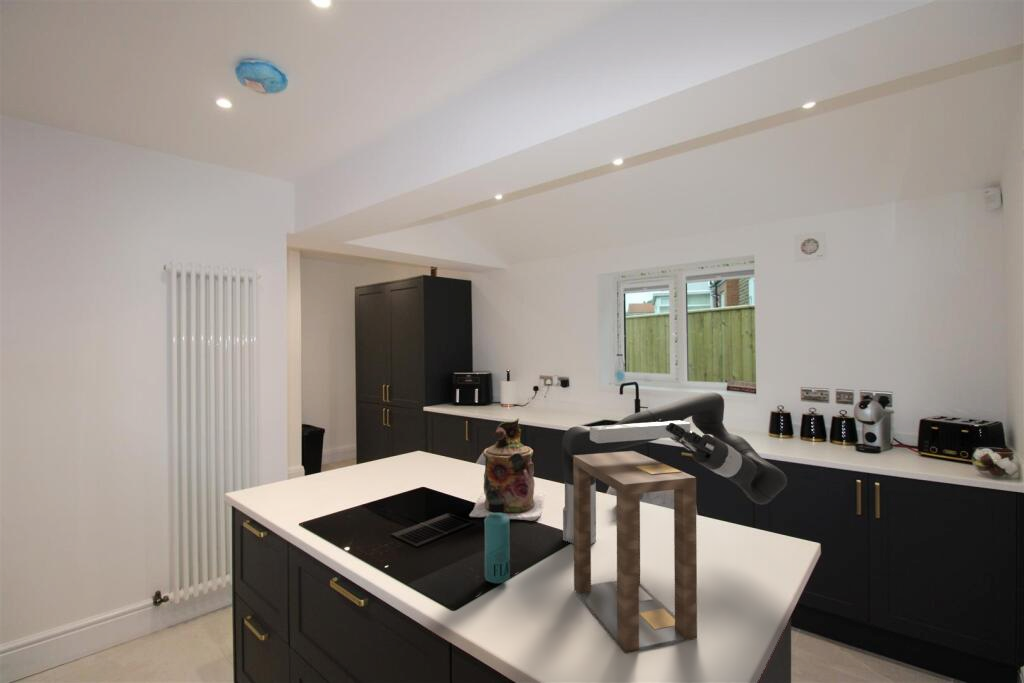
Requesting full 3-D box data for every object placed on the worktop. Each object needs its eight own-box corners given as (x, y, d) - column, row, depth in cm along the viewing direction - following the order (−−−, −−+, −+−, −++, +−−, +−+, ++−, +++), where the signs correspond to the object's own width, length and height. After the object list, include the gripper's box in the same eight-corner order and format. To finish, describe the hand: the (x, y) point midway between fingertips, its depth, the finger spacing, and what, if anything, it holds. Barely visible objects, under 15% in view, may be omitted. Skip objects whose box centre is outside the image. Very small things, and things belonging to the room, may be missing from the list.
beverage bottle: (491, 592, 112) (490, 507, 112) (479, 579, 117) (479, 499, 117) (515, 585, 115) (515, 503, 115) (503, 573, 120) (502, 495, 120)
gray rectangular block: (680, 432, 115) (679, 420, 115) (690, 435, 111) (690, 423, 111) (589, 439, 108) (589, 426, 108) (597, 443, 104) (597, 429, 104)
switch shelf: (633, 580, 117) (633, 450, 117) (697, 638, 94) (696, 476, 94) (574, 589, 113) (573, 454, 113) (625, 653, 89) (624, 483, 90)
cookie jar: (482, 495, 182) (481, 412, 182) (546, 498, 179) (545, 413, 179) (467, 519, 158) (467, 423, 158) (541, 523, 155) (540, 425, 155)
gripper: (703, 436, 123) (653, 406, 119) (744, 448, 109) (689, 414, 105) (691, 462, 122) (640, 433, 118) (731, 477, 108) (675, 445, 104)
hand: (663, 424), depth 111 cm, fingers closed on gray rectangular block, 4 cm apart
